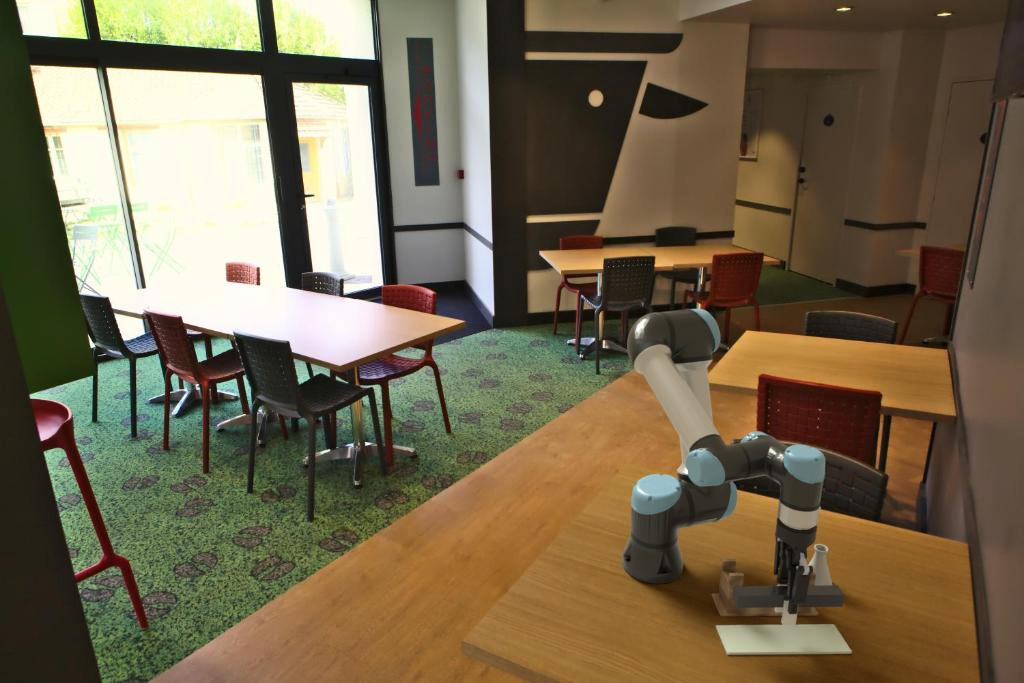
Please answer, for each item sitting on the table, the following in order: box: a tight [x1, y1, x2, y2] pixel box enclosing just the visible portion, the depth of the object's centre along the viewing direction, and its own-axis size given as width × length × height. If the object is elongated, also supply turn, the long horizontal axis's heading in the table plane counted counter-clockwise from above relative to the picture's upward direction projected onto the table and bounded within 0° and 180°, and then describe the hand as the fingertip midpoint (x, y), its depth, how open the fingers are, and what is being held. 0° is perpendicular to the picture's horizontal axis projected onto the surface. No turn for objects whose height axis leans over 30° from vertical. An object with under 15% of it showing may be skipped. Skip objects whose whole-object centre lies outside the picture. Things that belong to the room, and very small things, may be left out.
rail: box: [733, 584, 845, 608], centre depth 136 cm, size 22×3×3 cm, turn 90°
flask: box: [808, 543, 833, 586], centre depth 156 cm, size 7×7×10 cm
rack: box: [711, 558, 819, 617], centre depth 149 cm, size 22×7×10 cm, turn 90°
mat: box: [715, 623, 853, 656], centre depth 139 cm, size 26×8×1 cm, turn 90°
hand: (785, 616), depth 138 cm, fingers closed on rail, 3 cm apart
